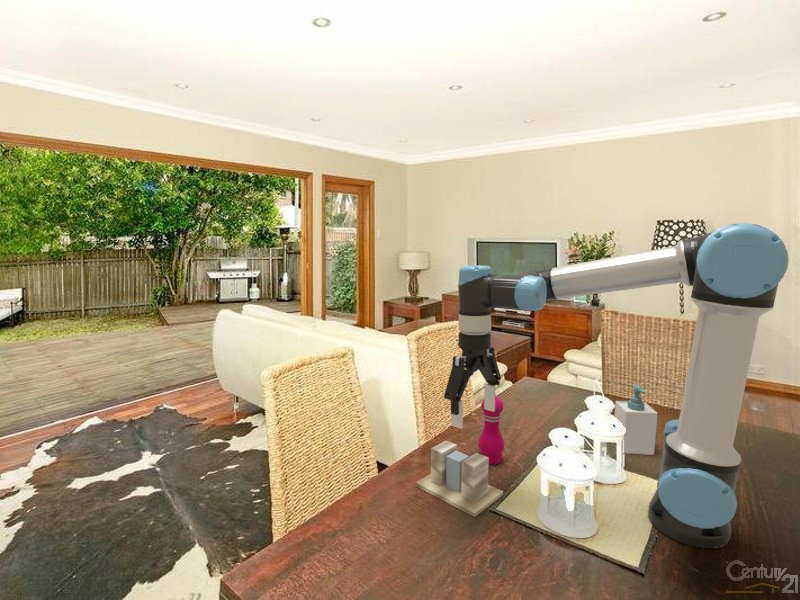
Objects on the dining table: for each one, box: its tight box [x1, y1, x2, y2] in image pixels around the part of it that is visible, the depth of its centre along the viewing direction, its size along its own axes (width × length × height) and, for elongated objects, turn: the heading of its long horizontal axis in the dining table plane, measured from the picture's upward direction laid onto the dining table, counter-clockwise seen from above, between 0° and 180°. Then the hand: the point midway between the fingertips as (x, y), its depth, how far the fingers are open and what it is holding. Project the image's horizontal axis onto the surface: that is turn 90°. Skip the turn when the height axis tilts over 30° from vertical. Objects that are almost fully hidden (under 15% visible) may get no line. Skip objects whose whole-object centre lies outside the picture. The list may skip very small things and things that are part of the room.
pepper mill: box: [477, 392, 505, 465], centre depth 125 cm, size 7×7×20 cm
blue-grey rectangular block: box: [446, 450, 470, 493], centre depth 110 cm, size 4×4×8 cm
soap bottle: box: [614, 383, 658, 456], centre depth 132 cm, size 9×9×19 cm
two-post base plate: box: [415, 440, 504, 518], centre depth 110 cm, size 18×12×10 cm, turn 46°
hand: (474, 418), depth 107 cm, fingers open, 13 cm apart
